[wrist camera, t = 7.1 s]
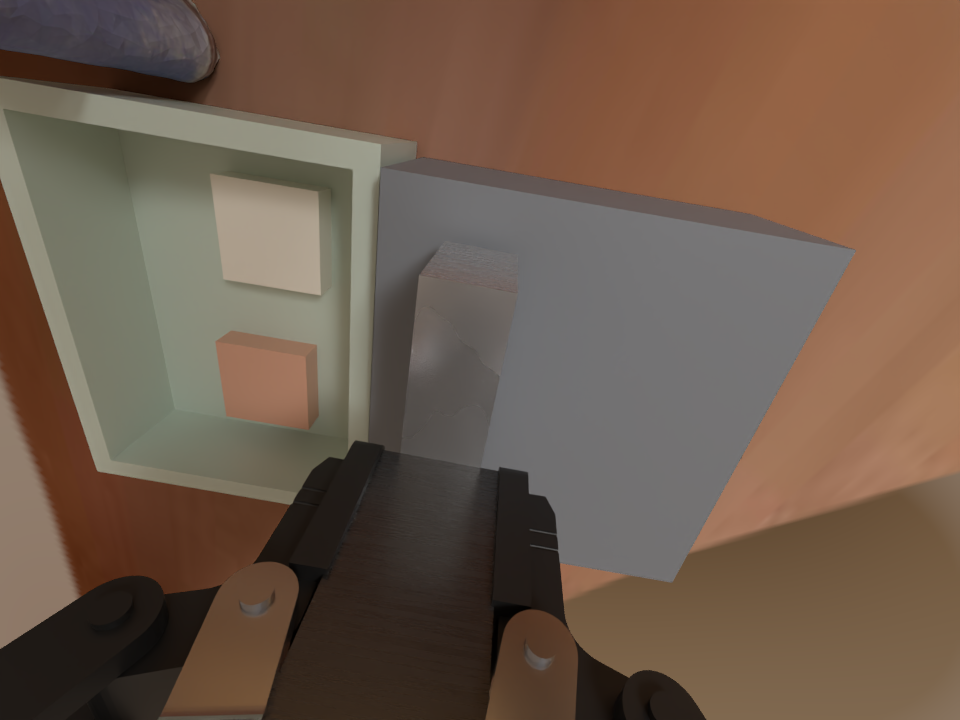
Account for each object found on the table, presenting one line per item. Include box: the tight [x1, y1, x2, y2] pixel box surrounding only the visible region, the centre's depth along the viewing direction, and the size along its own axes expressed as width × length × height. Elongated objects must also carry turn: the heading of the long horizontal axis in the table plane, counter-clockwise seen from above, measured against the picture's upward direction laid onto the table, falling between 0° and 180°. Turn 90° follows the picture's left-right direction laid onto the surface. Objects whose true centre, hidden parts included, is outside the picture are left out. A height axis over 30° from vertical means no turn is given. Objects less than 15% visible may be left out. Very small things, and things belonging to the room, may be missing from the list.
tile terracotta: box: [215, 331, 319, 430], centre depth 21 cm, size 4×4×1 cm
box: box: [0, 76, 417, 505], centre depth 18 cm, size 15×12×5 cm
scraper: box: [265, 241, 518, 720], centre depth 10 cm, size 12×3×10 cm, turn 171°
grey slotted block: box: [369, 157, 856, 582], centre depth 18 cm, size 14×13×6 cm
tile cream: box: [210, 171, 332, 296], centre depth 17 cm, size 4×4×1 cm
